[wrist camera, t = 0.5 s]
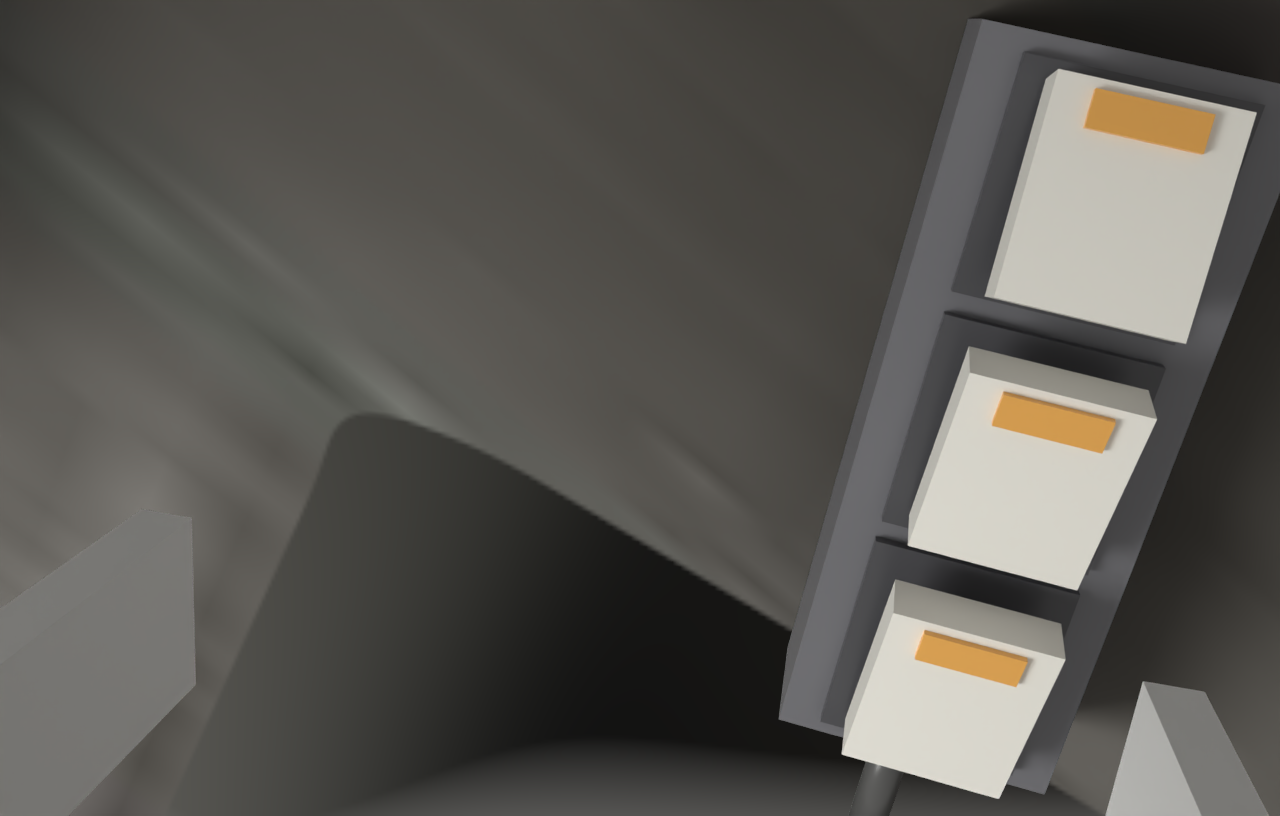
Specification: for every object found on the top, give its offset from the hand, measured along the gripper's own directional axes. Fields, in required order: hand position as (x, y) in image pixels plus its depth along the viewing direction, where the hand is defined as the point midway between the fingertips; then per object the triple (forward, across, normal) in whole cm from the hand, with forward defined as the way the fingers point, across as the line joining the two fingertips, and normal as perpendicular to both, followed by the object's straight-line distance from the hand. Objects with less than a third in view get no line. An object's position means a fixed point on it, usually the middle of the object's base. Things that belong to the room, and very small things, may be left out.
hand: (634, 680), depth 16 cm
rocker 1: (+20, +9, +5) cm, 22 cm away
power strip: (+26, +8, -6) cm, 28 cm away
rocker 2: (+20, +8, -3) cm, 21 cm away
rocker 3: (+19, +8, -10) cm, 23 cm away
